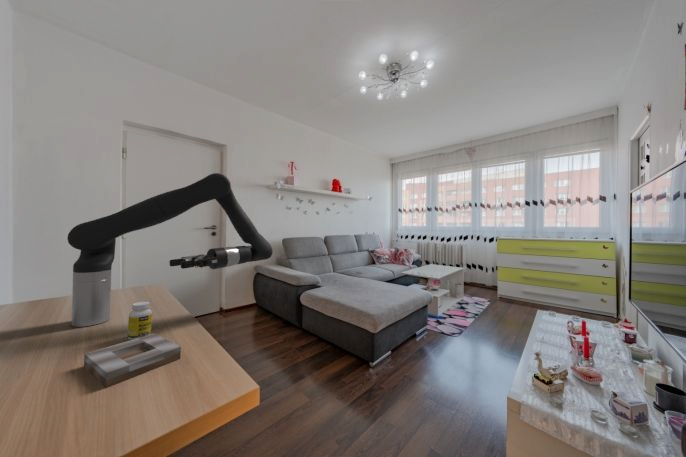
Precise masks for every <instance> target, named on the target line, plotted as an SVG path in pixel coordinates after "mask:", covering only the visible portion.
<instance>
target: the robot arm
mask: <svg viewBox="0 0 686 457" xmlns="http://www.w3.org/2000/svg"><path fill="white" fill-rule="evenodd" d="M214 200H215V201H216V202H217V203H218V204H219V205H220V206H221V208H222V209H223V211H224V213H226V215H227V217H228V218H229V221H230V223H231V224H232V226H233V228H234V230H235V231H236V233H237V234H238V236H239V237H240V239H241V240H242V241H243V242H244V243H245V244H248V245H238V246H223V247H214V248H210V249H208V251H207V252H206V254H204V253H201V254H200V253H199V254H197V255H189V256H182V257H180V258H175V259H170V260H169V266H170V267H178V266H179V267H180V268H181V269H183V270H184V269H189V268H201V269H202V268H205V267H206V268H207V267H208V268H210V269H211V270H217V269H224V268H228V267H233V266H236V265H241V264H246V263H250V262H258V261H259V262H260V261H265V260H268V259H270V258H271V257H272V256H273V247H272V245H271V244H270V243H269V241H268V240H267V239H266V238H265V237H264V236H263V235H262V234H261V233H260V232H259V231H258V229H257V228H256V226H255V224H254V222H252V220H251V219H250V217H249V216H248V214H247V213H246V211H244V209H243V208H242V206H241V205H240V203H239V202H238V199H237V198H236V196H235V195H234V192H233V190H232V186H231V181H230V179H229V178H228V177H227V176H226V175H224V174H222V173H219V172H215V173H214V172H213V173H211V174H208V175H207V176H205V177H203V178H202V179H199V180H198V181H195V182H194V183H191V184H189V185H187V186H183V187H179V188H177V189H173V190H169V191H166V192H162V193H159V194H156V195H153V196H151V197H149V198H147V199H146V198H145V199H144V200H142V201H140V202H137V203H135V204H132V205H131V206H128V207H126V208H123V209H121V210H120V211H117V212H115V213H111V214H108V215H106V216H103V217H100V218H96V219H92V220H88V221H86V222H82V223H78V224H77V225H75V226H73V227H72V229H70V231H69V232H68V234H67V239H66V240H67V243H68V244H69V245H70V247H72V248H73V249H76V250H79V251H80V254H79V257H78V258H77V260H76V261H75V262H74V263H73V266H72V294H71V296H72V298H71V300H72V301H71V302H72V303H71V326H72V327H75V328H77V327H78V328H79V327H89V326H90V327H91V326H95V325H99V324H102V323H106V322H108V321H109V320H111V306H112V305H111V304H112V303H111V301H112V300H111V298H112V297H111V296H112V294H111V292H112V267H113V266H112V265H113V262H114V260H115V254H116V240H117V239H116V238H118V237H120V236H123V235H126V234H128V233H132V232H136V231H139V230H144V229H147V228H151V227H154V226H156V225H159V224H163V223H165V222H167V221H169V220H172V219H174V218H177V217H178V216H180V215H182V214H184V213H185V212H187V211H189V210H191V209H193V208H194V207H196V206H198V205H200V204H204V203H206V202H210V201H214Z"/></svg>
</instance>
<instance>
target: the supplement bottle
mask: <svg viewBox="0 0 686 457" xmlns="http://www.w3.org/2000/svg"><path fill="white" fill-rule="evenodd" d="M131 305H132V306H131V311H130V312H129V313H128V323H127V324H128V325H127V329H128V330H127V340H129V341H130V340H133V339H137V338H140V337H144V336H147V335H151V334H152V321H153V320H152V319H153V311H152V309H150V302H149V301H138V302H134V303H133V304H131Z"/></svg>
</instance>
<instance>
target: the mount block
mask: <svg viewBox="0 0 686 457" xmlns="http://www.w3.org/2000/svg"><path fill="white" fill-rule="evenodd" d="M181 350H182V349H181V346H180V345H178V344H177V343H174V342H173V341H172V340H171V341H170V340H168V339H166V338H164V337H163V336H160V335H158V334H156V333H151V335H147V336H144V337H140V338H137V339H133V340H130V339H129V340H127V341H123V342H120V343H116V344H114V345H110V346H107V347H102V348H100V349H96V350H93V351H90V352H85V353H84V359H83V367H84V368H85V369H86V371H88V372H89V373H90V374H91V375H92V376H93V377H94V378H95V379H96V380H97V381H99V382H100V383H101V384H102V385H103V386H104V387H105V388H109V387H111V386H112V387H113V386H115V385H117V384H120V383H122V382H125V381H127V380H130V379H132V378H134V377H137V376H140V375H142V374H146V373H148V372H149V371H152V370H155V369H158V368H161V367H163V366H165V365H167V364H170V363H173V362H175V361H179V360H180V359H181V355H182V354H181V353H182V352H181Z"/></svg>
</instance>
